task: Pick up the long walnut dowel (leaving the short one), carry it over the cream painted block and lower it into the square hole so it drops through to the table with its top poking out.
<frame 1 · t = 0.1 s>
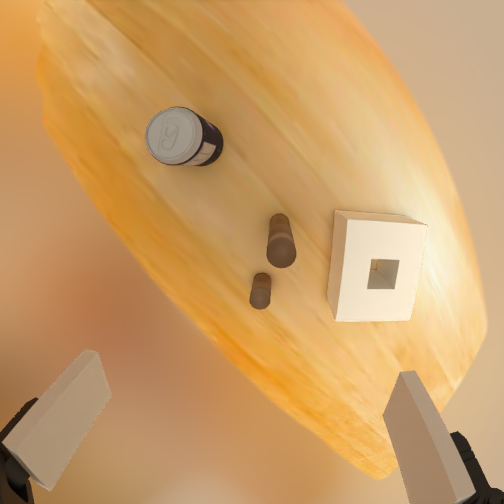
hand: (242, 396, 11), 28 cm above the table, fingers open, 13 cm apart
hole block: (366, 256, 37), on the table
beverage can: (202, 144, 35), on the table
long pin: (279, 223, 37), on the table
short pin: (262, 281, 39), on the table
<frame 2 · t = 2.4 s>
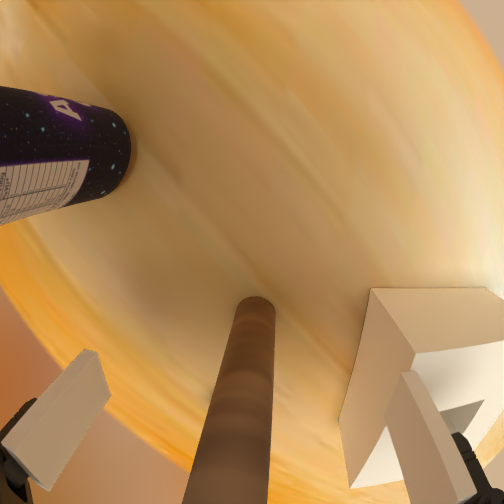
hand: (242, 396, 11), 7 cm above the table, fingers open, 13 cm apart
hole block: (414, 361, 18), on the table
beverage can: (101, 153, 16), on the table
long pin: (255, 314, 18), on the table
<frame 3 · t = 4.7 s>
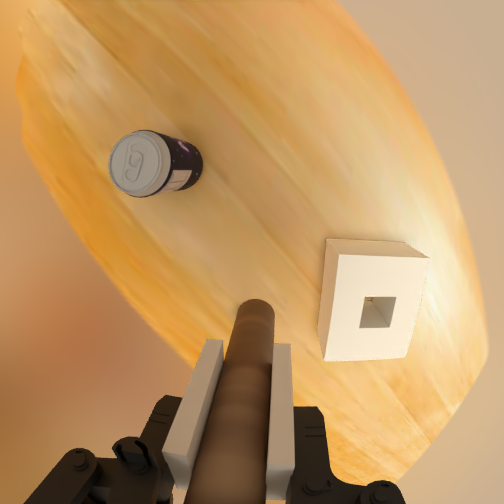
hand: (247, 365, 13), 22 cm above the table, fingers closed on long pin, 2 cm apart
hole block: (360, 287, 34), on the table
beverage can: (181, 165, 32), on the table
long pin: (256, 315, 19), point 16 cm above the table, touching gripper
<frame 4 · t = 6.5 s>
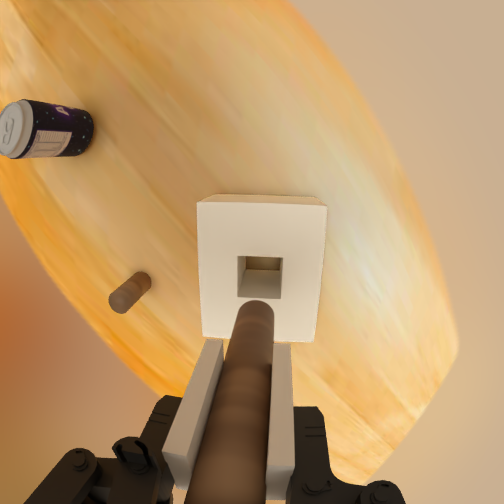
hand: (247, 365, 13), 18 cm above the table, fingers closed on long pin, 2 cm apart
hole block: (263, 253, 30), on the table
beverage can: (80, 133, 28), on the table
long pin: (255, 316, 18), point 12 cm above the table, touching gripper
short pin: (142, 281, 32), on the table
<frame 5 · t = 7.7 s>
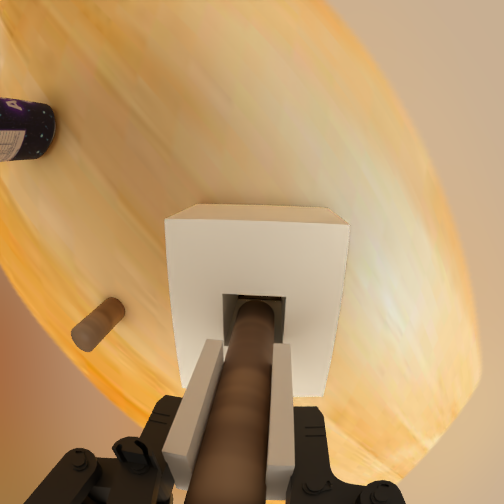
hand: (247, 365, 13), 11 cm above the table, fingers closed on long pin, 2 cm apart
hole block: (260, 279, 23), on the table
beverage can: (43, 131, 21), on the table
long pin: (255, 316, 18), point 5 cm above the table, touching gripper
short pin: (114, 308, 26), on the table
when the fingers open (9 cm above the table, at t = 8.8 s): long pin drops 4 cm, resting in hole block.
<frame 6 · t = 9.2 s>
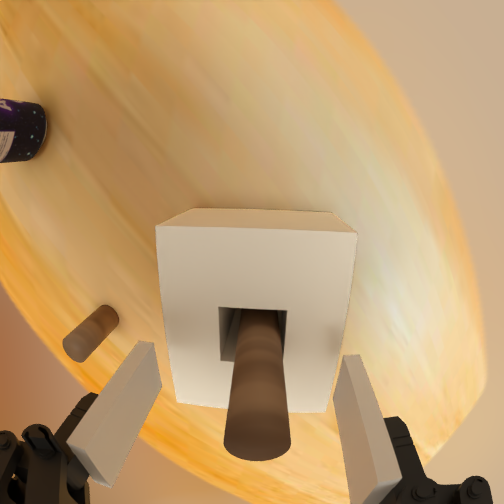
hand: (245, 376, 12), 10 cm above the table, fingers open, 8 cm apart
hole block: (259, 288, 22), on the table
beverage can: (35, 132, 20), on the table
long pin: (259, 292, 22), resting in hole block
short pin: (108, 316, 24), on the table
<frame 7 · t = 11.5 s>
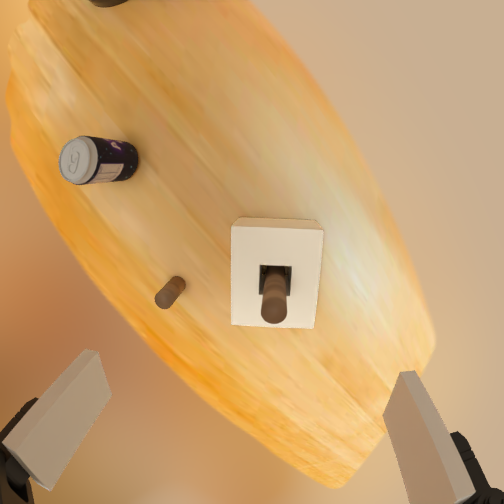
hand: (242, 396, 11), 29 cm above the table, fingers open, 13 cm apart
hole block: (275, 262, 39), on the table
beverage can: (124, 161, 37), on the table
long pin: (275, 265, 39), resting in hole block
short pin: (177, 284, 41), on the table
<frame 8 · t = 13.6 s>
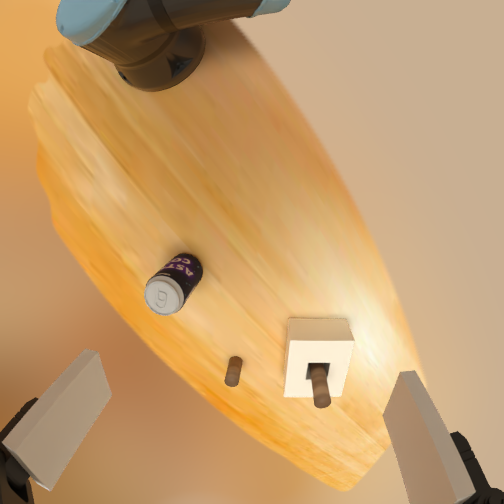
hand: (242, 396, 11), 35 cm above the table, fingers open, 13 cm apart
hole block: (313, 347, 49), on the table
beverage can: (187, 268, 47), on the table
long pin: (313, 349, 49), resting in hole block
short pin: (236, 361, 51), on the table
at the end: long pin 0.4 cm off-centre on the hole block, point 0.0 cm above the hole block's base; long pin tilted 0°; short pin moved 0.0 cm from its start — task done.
